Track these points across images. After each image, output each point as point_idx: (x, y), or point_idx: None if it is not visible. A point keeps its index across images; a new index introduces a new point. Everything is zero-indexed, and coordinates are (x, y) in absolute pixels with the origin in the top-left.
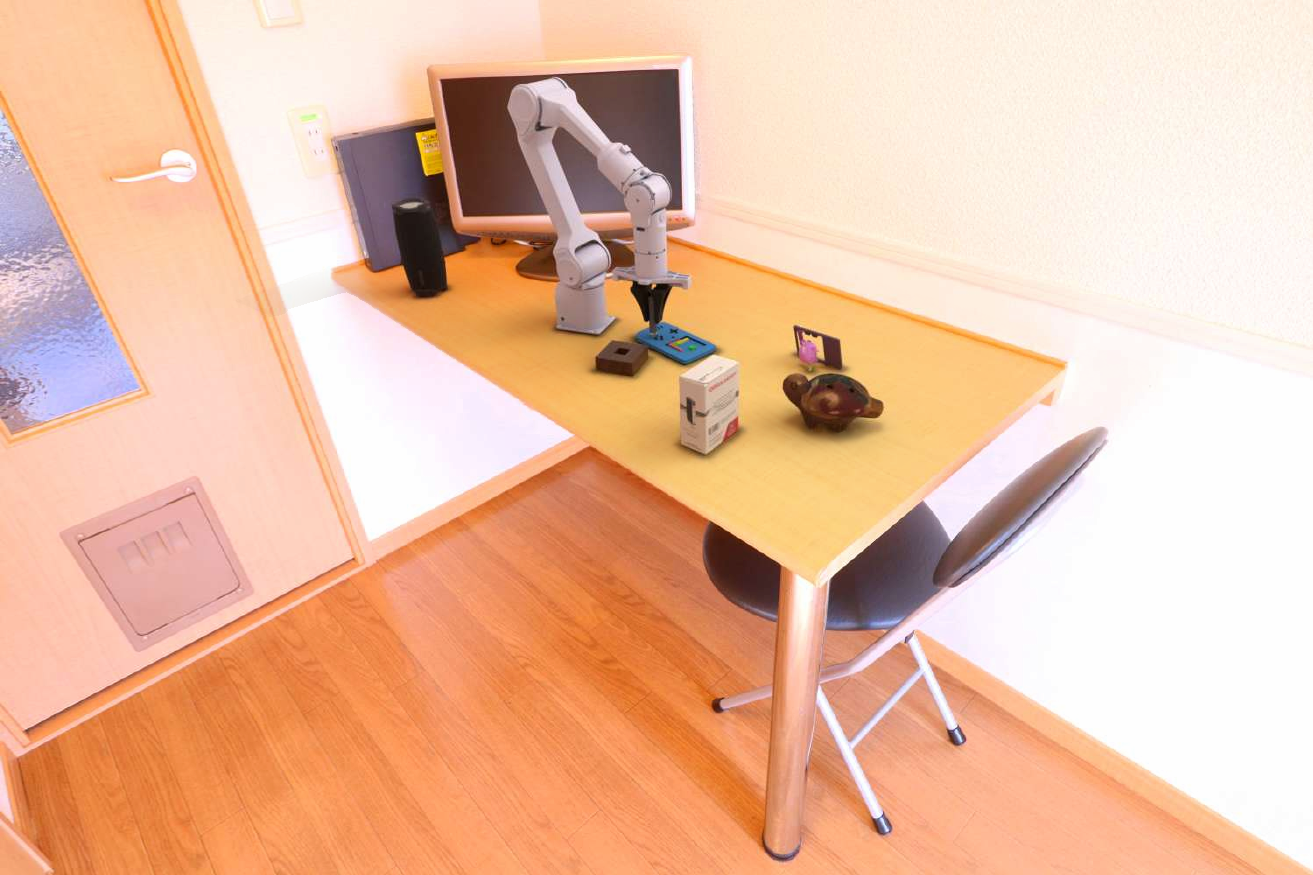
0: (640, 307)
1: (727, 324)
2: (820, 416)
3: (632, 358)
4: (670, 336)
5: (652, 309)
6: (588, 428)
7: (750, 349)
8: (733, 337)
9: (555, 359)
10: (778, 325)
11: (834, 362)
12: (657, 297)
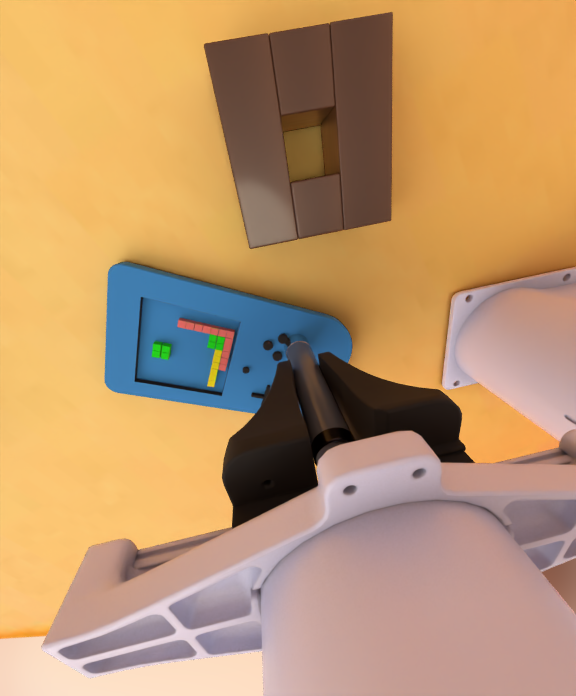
0: (357, 370)
1: (193, 484)
2: None
3: (233, 98)
4: (257, 370)
5: (310, 390)
6: None
7: (49, 427)
8: (135, 450)
9: (540, 60)
10: (97, 527)
11: None
12: (270, 423)
